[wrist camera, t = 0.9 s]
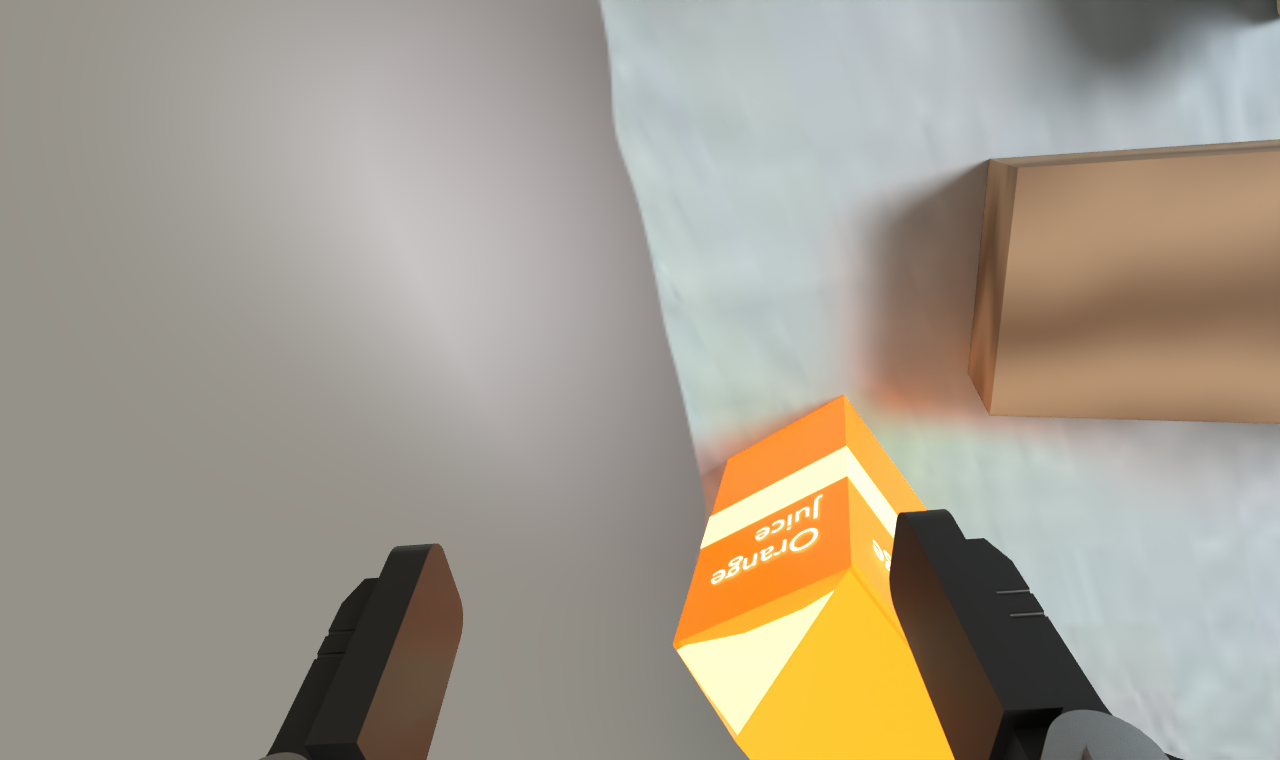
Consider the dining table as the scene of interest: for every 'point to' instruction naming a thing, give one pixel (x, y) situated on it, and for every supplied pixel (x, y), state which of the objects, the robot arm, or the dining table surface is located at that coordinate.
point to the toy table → (1278, 6)
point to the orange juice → (808, 601)
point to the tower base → (1131, 285)
